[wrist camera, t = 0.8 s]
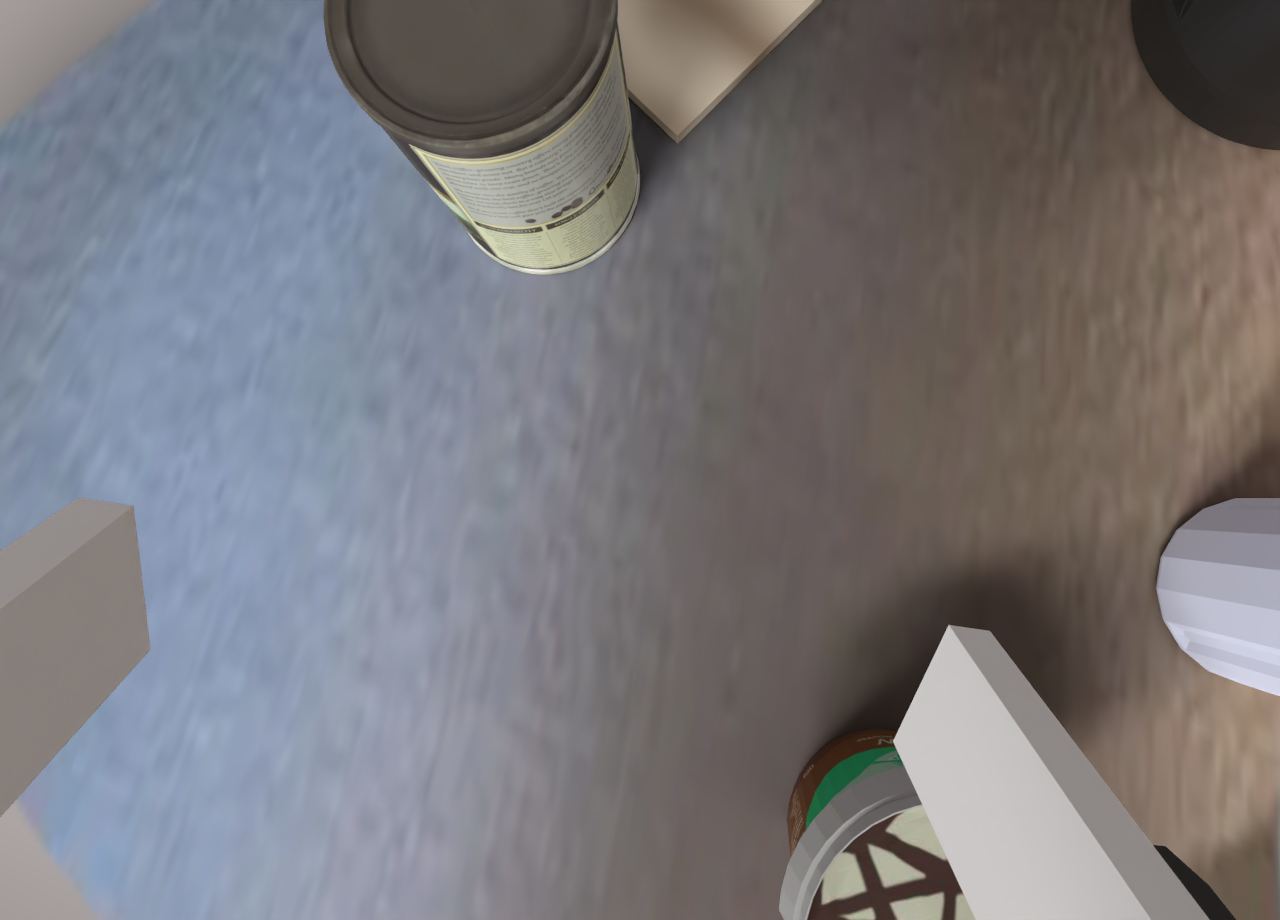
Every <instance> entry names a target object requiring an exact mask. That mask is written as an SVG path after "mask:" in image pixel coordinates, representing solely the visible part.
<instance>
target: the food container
mask: <svg viewBox="0 0 1280 920" xmlns="http://www.w3.org/2000/svg"><path fill="white" fill-rule="evenodd" d="M897 732H898V731H897V730H891V729H879V728H871V729H865V730H859V731H854V732H852V733H849V734H846V735H843V736H841V737H839V738H837V739H835V740H833V741H832V742H830V743H828V744H827V745H826V746H825V747H823V748H822V749H821V750H819V751H818V752H817V753H816V754H815V755H814V756H813V758H812V759H811V760H810V761H809V762H808V763H807V765H806V766H805V768H804V769H803V771H802V772H801V774H800V775H799V777H798V780H797V782H796V784H795V786H794V788H793V792H792V795H791V799H790V802H789V809H788V817H787V824H788V835H789V845H790V856H791V859H790V861H789V863H788V867H787V870H786V874H785V877H784V881H783V884H782V889H781V896H780V904H779V911H780V913H781V915H782V917H783V918H784V920H975V917H974V915H973V913H972V911H971V909H970V907H969V905H968V902H967V900H966V898H965V896H964V894H963V892H962V889H961V887H960V885H959V883H958V881H957V879H956V876H955V874H954V872H953V870H952V868H951V866H950V863H949V861H948V859H947V857H946V855H945V853H944V851H943V848H942V846H941V844H940V842H939V840H938V838H937V835H936V833H935V831H934V829H933V827H932V825H931V822H930V820H929V818H928V816H927V814H926V812H925V809H924V807H923V805H922V803H921V801H920V799H919V797H918V794H917V792H916V790H915V788H914V786H913V784H912V781H911V779H910V777H909V775H908V773H907V771H906V768H905V766H904V764H903V762H902V760H901V758H900V755H899V753H898V751H897V749H896V747H895V745H894V743H893V740H894V738H895V736H896V734H897Z"/></svg>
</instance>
